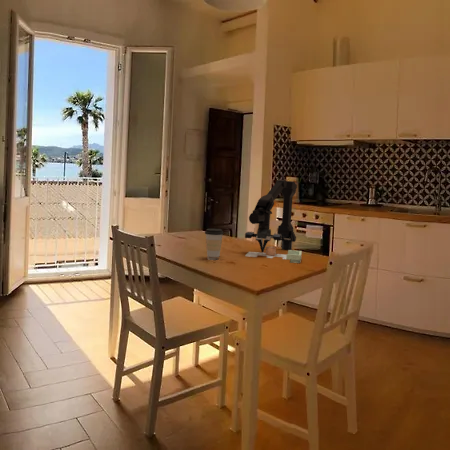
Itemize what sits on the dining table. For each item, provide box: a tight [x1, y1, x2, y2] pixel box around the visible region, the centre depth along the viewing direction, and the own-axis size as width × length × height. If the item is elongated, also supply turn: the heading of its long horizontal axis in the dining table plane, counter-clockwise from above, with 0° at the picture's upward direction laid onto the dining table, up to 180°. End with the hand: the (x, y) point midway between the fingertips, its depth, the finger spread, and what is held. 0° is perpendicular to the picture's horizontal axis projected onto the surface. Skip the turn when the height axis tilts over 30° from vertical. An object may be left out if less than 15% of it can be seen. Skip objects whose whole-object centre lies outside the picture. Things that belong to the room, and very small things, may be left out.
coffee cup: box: [204, 228, 225, 261], centre depth 232 cm, size 9×9×15 cm
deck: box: [245, 249, 303, 264], centre depth 240 cm, size 13×28×4 cm, turn 79°
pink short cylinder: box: [265, 246, 277, 256], centre depth 242 cm, size 5×5×4 cm
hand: (262, 252), depth 243 cm, fingers closed
